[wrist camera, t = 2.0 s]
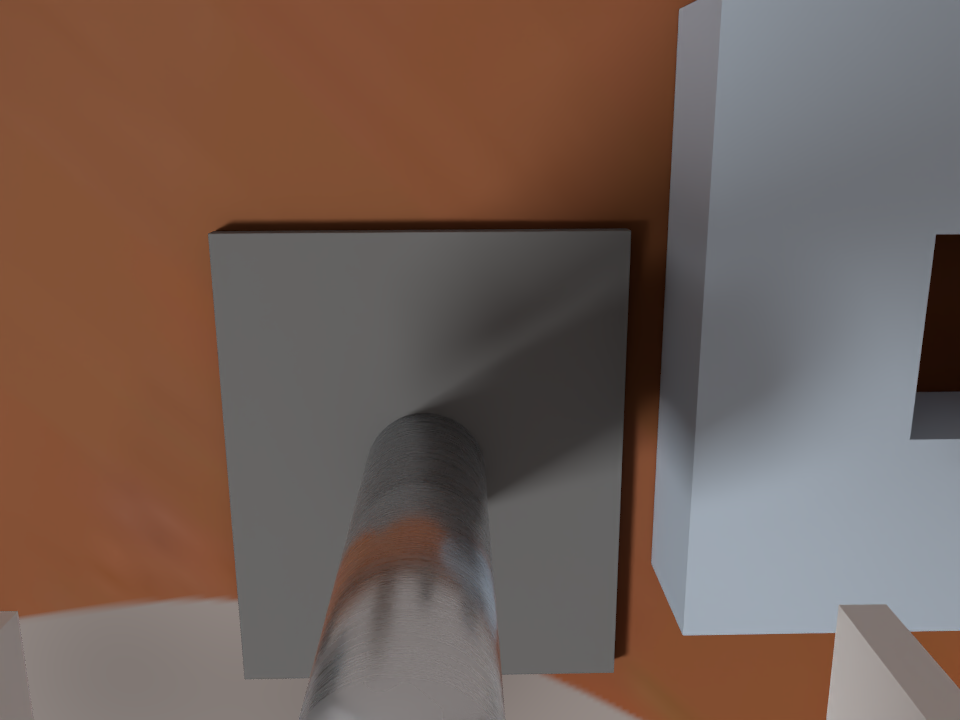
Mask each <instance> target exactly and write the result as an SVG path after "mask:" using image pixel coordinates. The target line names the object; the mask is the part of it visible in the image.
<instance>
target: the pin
mask: <svg viewBox="0 0 960 720" xmlns="http://www.w3.org/2000/svg"><path fill="white" fill-rule="evenodd" d="M299 720H505V710H504V698H503V685H502V673H501V661H500V648H499V636H498V624H497V611H496V599H495V587H494V575H493V562H492V550H491V538H490V526H489V513H488V501H487V489H486V477H485V464H484V458H483V454H482V451H481V448H480V446H479V444H478V442H477V440H476V439H475V438H474V436H473V435H472V434H471V433H470V432H469V431H468V430H467V429H466V428H465V427H464V426H463V425H461V424H460V423H458V422H457V421H455V420H453V419H451V418H448V417H446V416H442V415H438V414H433V413H419V414H412V415H408V416H405V417H402V418H400V419H398V420H396V421H394V422H392V423H391V424H389V425H388V426H387V427H386V428H385V429H383V430H382V431H381V433H380V434H379V435H378V436H377V437H376V439H375V440H374V442H373V444H372V446H371V448H370V451H369V454H368V457H367V461H366V465H365V469H364V473H363V477H362V480H361V484H360V488H359V492H358V496H357V499H356V503H355V507H354V511H353V515H352V519H351V522H350V526H349V530H348V534H347V538H346V541H345V545H344V549H343V553H342V557H341V560H340V564H339V568H338V572H337V576H336V580H335V583H334V587H333V591H332V595H331V599H330V602H329V606H328V610H327V614H326V618H325V622H324V625H323V629H322V633H321V637H320V641H319V644H318V648H317V652H316V656H315V660H314V663H313V667H312V671H311V675H310V679H309V683H308V687H307V690H306V694H305V698H304V702H303V705H302V709H301V713H300V717H299Z"/></svg>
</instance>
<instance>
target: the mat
mask: <svg viewBox="0 0 960 720" xmlns="http://www.w3.org/2000/svg"><path fill="white" fill-rule="evenodd" d="M208 238H209V250H210V262H211V274H212V287H213V299H214V311H215V323H216V335H217V348H218V360H219V372H220V384H221V397H222V409H223V421H224V433H225V445H226V458H227V470H228V482H229V494H230V507H231V519H232V531H233V543H234V555H235V568H236V580H237V592H238V604H239V616H240V628H241V641H242V652H243V665H244V677H245V679H284V678H285V679H287V678H310V675H311V671H312V667H313V663H314V660H315V656H316V652H317V648H318V644H319V641H320V637H321V633H322V629H323V625H324V622H325V618H326V614H327V610H328V606H329V602H330V599H331V595H332V591H333V587H334V583H335V580H336V576H337V572H338V568H339V564H340V560H341V557H342V553H343V549H344V545H345V541H346V538H347V534H348V530H349V526H350V522H351V519H352V515H353V511H354V507H355V503H356V499H357V496H358V492H359V488H360V484H361V480H362V477H363V473H364V469H365V465H366V461H367V457H368V454H369V451H370V448H371V446H372V444H373V442H374V440H375V439H376V437H377V436H378V435H379V434H380V433H381V431H382V430H383V429H385V428H386V427H387V426H388V425H389V424H391V423H392V422H394V421H396V420H398V419H400V418H402V417H405V416H408V415H412V414H419V413H433V414H438V415H442V416H446V417H448V418H451V419H453V420H455V421H457V422H458V423H460V424H461V425H463V426H464V427H465V428H466V429H467V430H468V431H469V432H470V433H471V434H472V435H473V436H474V438H475V439H476V440H477V442H478V444H479V446H480V448H481V451H482V454H483V458H484V464H485V477H486V489H487V501H488V513H489V526H490V538H491V550H492V562H493V575H494V587H495V599H496V611H497V624H498V636H499V648H500V661H501V673H502V675H505V674H560V673H614V651H615V626H616V601H617V576H618V550H619V525H620V500H621V475H622V450H623V424H624V399H625V374H626V349H627V324H628V298H629V273H630V248H631V230H629V229H627V228H618V229H470V230H322V231H213V232H211V233H209V234H208Z"/></svg>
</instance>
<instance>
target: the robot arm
mask: <svg viewBox="0 0 960 720" xmlns="http://www.w3.org/2000/svg"><path fill="white" fill-rule="evenodd" d="M0 720H34V718H33V711H32V704H31V698H30V691H29V684H28V677H27V671H26V664H25V658H24V651H23V644H22V637H21V631H20V624H19V617H18V611H0ZM826 720H960V689H959V688H958V687H957V686H956V684H955V683H954V682H953V681H952V680H951V679H950V677H949V676H948V675H947V674H946V673H945V672H944V670H943V669H942V668H941V667H940V666H939V665H938V664H937V662H936V661H935V660H934V659H933V658H932V657H931V655H930V654H929V653H928V652H927V651H926V650H925V649H924V647H923V646H922V645H921V644H920V643H919V642H918V640H917V639H916V638H915V637H914V636H913V635H912V633H911V632H910V631H909V630H908V629H907V628H906V627H905V625H904V624H903V623H902V622H901V621H900V620H899V618H898V617H897V616H896V615H895V614H894V613H893V612H892V610H891V609H890V608H889V607H888V606H887V605H886V604H872V605H839V607H838V616H837V626H836V635H835V644H834V654H833V663H832V672H831V681H830V691H829V700H828V709H827V719H826Z"/></svg>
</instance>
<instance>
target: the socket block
mask: <svg viewBox="0 0 960 720" xmlns="http://www.w3.org/2000/svg"><path fill="white" fill-rule="evenodd" d="M936 234H960V0H697V1H695V2H693V3H691V4H689V5H687V6H685V7H683V8H681V9H679V23H678V43H677V63H676V83H675V103H674V123H673V143H672V163H671V182H670V202H669V222H668V242H667V262H666V282H665V302H664V322H663V342H662V362H661V381H660V401H659V421H658V441H657V461H656V481H655V501H654V521H653V541H652V560H651V564H652V566H653V568H654V571H655V573H656V575H657V577H658V580H659V582H660V584H661V586H662V589H663V591H664V593H665V596H666V598H667V600H668V602H669V605H670V607H671V609H672V612H673V614H674V616H675V618H676V621H677V623H678V625H679V628H680V630H681V632H682V634H683V635H731V634H788V633H836V626H837V616H838V607H839V605H872V604H886V605H887V606H888V607H889V608H890V609H891V610H892V612H893V613H894V614H895V615H896V616H897V617H898V618H899V620H900V621H901V622H902V623H903V624H904V625H905V627H906V628H907V629H908V630H909V631H960V392H916V388H917V380H918V372H919V364H920V357H921V349H922V341H923V333H924V325H925V317H926V309H927V302H928V294H929V286H930V278H931V270H932V262H933V254H934V247H935V239H936Z"/></svg>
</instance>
